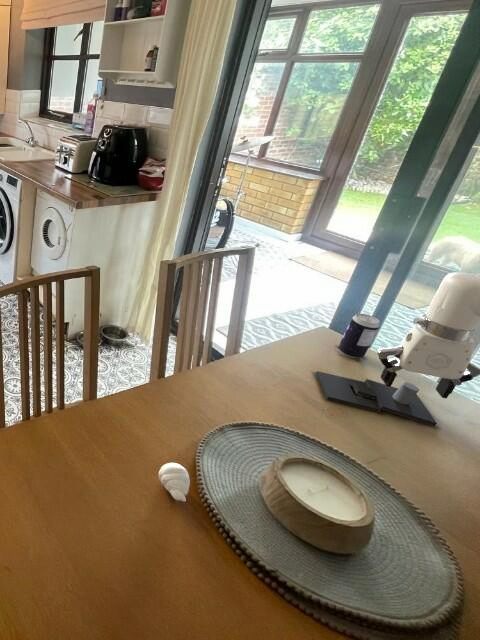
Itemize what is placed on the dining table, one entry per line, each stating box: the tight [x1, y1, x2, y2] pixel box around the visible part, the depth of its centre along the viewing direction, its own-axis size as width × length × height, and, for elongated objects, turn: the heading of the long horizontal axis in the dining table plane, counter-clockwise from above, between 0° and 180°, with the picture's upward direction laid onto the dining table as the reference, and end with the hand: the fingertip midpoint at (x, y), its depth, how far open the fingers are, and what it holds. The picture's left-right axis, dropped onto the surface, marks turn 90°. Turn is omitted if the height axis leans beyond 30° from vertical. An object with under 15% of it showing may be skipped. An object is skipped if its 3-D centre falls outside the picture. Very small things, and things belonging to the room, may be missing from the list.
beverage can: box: [337, 313, 381, 359], centre depth 113 cm, size 6×6×12 cm
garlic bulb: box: [158, 462, 191, 503], centre depth 78 cm, size 6×6×5 cm
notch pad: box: [315, 370, 381, 413], centre depth 102 cm, size 10×10×1 cm
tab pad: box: [352, 378, 438, 427], centre depth 98 cm, size 14×10×6 cm
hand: (412, 388), depth 96 cm, fingers open, 9 cm apart
